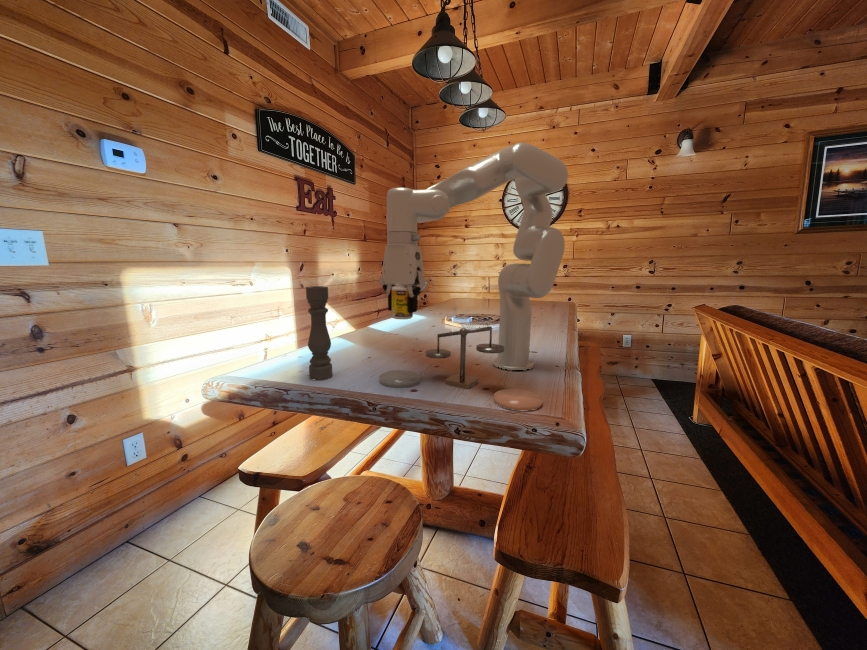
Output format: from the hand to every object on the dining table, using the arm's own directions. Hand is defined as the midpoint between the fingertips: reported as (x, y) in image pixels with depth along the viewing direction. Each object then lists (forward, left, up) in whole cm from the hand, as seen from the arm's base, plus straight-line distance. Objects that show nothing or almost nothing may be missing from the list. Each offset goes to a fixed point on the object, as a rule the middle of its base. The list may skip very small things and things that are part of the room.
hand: (402, 310), depth 96 cm
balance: (-8, +14, -19) cm, 25 cm away
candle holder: (+10, -21, -20) cm, 31 cm away
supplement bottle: (0, 0, -2) cm, 2 cm away
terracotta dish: (-4, +31, -19) cm, 37 cm away
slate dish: (0, -1, -19) cm, 20 cm away
